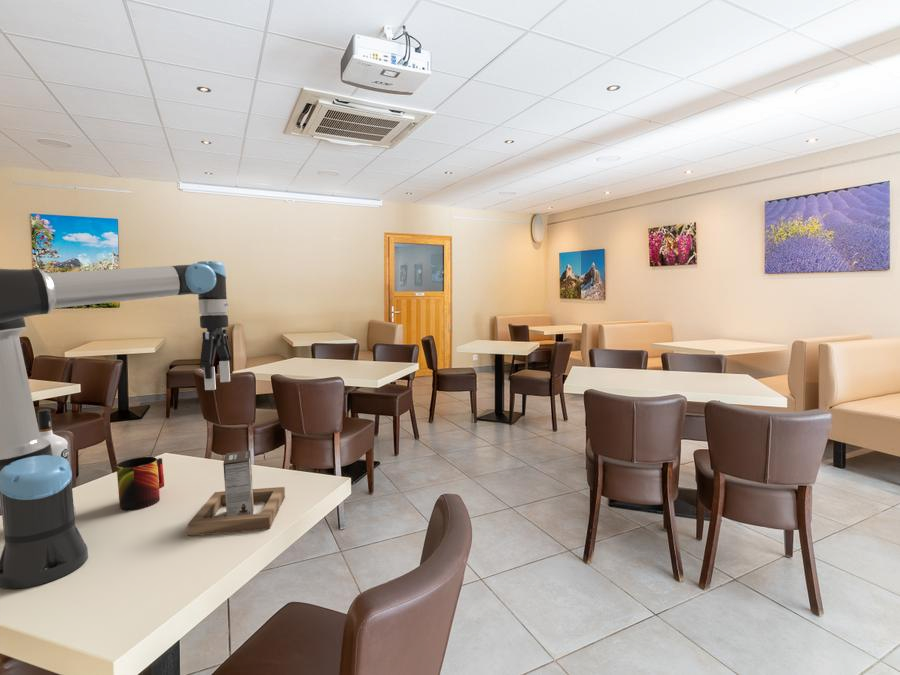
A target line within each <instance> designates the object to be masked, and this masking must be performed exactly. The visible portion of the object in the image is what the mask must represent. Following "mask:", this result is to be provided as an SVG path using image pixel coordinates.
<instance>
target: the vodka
mask: <svg viewBox="0 0 900 675" xmlns="http://www.w3.org/2000/svg"><path fill="white" fill-rule="evenodd" d="M51 416H52V413H51V409H49V408H48V409H47V408H45V409H40V410H37V420H38V421H37V423H38V428H39V433H40V436H41V437H42V438H44V439H46V440H49V441H50V444H51V449H52V453H53V456H60V457H63V458H65V459H66V460H67V461H68V462H69V452H68V444H69V443H68V441H67V439H66V438H64V437H62V436H59V435H58V434H54V432H53V425H52V424H53V423H52V417H51ZM76 515H77V510H76V507H75V506H74V516H75V517H76Z"/></svg>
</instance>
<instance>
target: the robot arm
mask: <svg viewBox="0 0 900 675" xmlns="http://www.w3.org/2000/svg"><path fill="white" fill-rule="evenodd" d="M186 295H198V296H197V298H198V313H199V314H200V316H199V327H200V328H201V329H206V331H203V332H202V334H201V335H202V345H201V350H200V362H199V367H200V369H201V368H203V379H204V391H215V390H216V389H217V386H216V371H215V370H216V369H215V366H214V363H215V359H216V352H217V355H218V358H219V359H220V361H219V362H218V364H219V365H218V366H219V381H220V383H229V382H231V373H230V372H231V370H230V361H232V360H233V356H232V354H231V348H230V344H229V341H228V335H227V329H224V328H228V327H229V316H228V314H227V313H228V307H229V305H230V303H229V302H228V300H227V298H228V296H227V276H226V269H225V265H224V262H221V261H216V260H215V261H214V260H213V261H212V260H211V261H209V260H207V261H206V260H203V261H201V260H200V261H197V262H196V263H191V264H181V265H161V266H147V267H146V266H143V267H130V268H128V267H127V268H114V269H113V268H111V269H96V270H94V269H93V270H82V271H81V270H80V271H62V272H61V271H60V272H45V271H44V270H42V269H41V268H31V269H29V268H27V269H24V268H23V269H17V268H16V269H15V268H13V269H11V268H0V510H1V519H2V527H3V537H4V545H3V548H2V552H1V555H0V588H2V589H8V588H10V589H14V590H15V589H25V588H29V587H30V588H31V587H34V586H38V585H39V586H40V585H43V584H45V583H46V584H47V583H49V582H52V581H55V580H57V579H60V578H62V577H64V576H66V575H69V574H71V573H72V572H75V571H76V570H78V569H79V568H80V567H81V566H84V564H85V563H86V562H87V560H88V558H89V550H88V546H87V543H86V542H85V541H84V538H83V536H82V534H81V533H80V531H79V529H78V527H77V526H76V520H75V518H76V515H75V516H74V507H75V505H74V504H75V503H74V496H73V495H74V493H73V482H72V478H73V471H72V469H71V466H70V462H69V460H68V461H67V460H66V459H65V458H63V457H60V456H53V453H52V449H51V444H50V441H49V440H46V439H44V438H42V437H41V436H40V433H39V423H38V421H37V420H38V418H37V416H36V410H35V406H34V400H33V395H32V392H31V387H30V382H29V378H28V377H29V376H28V373H27V369H26V368H27V367H26V363H25V359H24V353H23V349H22V345H21V341H20V339H21V338H20V336H21V334H22V333H23V332H24V331H25V330H26V329H27V327H26V321H25V318H28V317H33V316H38V315H39V316H40V315H48V314H50V313H51V312H52V311H53V310H54V309H61V308H70V307H71V308H72V307H79V306H88V305H89V306H90V305H97V304H106V303H115V302H118V303H119V302H126V301H134V300H135V301H136V300H145V299H154V298H155V299H156V298H162V297H163V298H165V297H173V296H186Z"/></svg>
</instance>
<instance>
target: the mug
mask: <svg viewBox="0 0 900 675" xmlns="http://www.w3.org/2000/svg"><path fill="white" fill-rule="evenodd" d="M116 475H117V477H116V478H117V487H118V501H119V510H121V511H131V512H132V511H137V510H142V509H147V508H150V507H152V506H154V505H156V504H158V503H159V502H160V501H161V500H160V499H161V498H160V497H161V496H160V490H161V489H162V488H164V487H165V478H164V477H165V476H164V466H163V457H162V458H161V457H158V458H157V457H155V456H143V457H142V456H141V457H140V456H139V457H134V458H130V459H126V460H123V461H121V462H119V463H117V464H116Z"/></svg>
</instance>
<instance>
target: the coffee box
mask: <svg viewBox="0 0 900 675" xmlns="http://www.w3.org/2000/svg"><path fill="white" fill-rule="evenodd" d="M251 454H252V453H251V450H250V449H249V450H242V451H234V452H227V453H225V454H224V460H223V464H222V465H223V479H224V490H225V496H226V505H225V509H226V516H238V515H250V514H254V509H255V508H254V506H255V505H254V503H253V489H254V488H253V487H254V486H253V474H252V472H253V471H252V470H253V469H252V457H251Z"/></svg>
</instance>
